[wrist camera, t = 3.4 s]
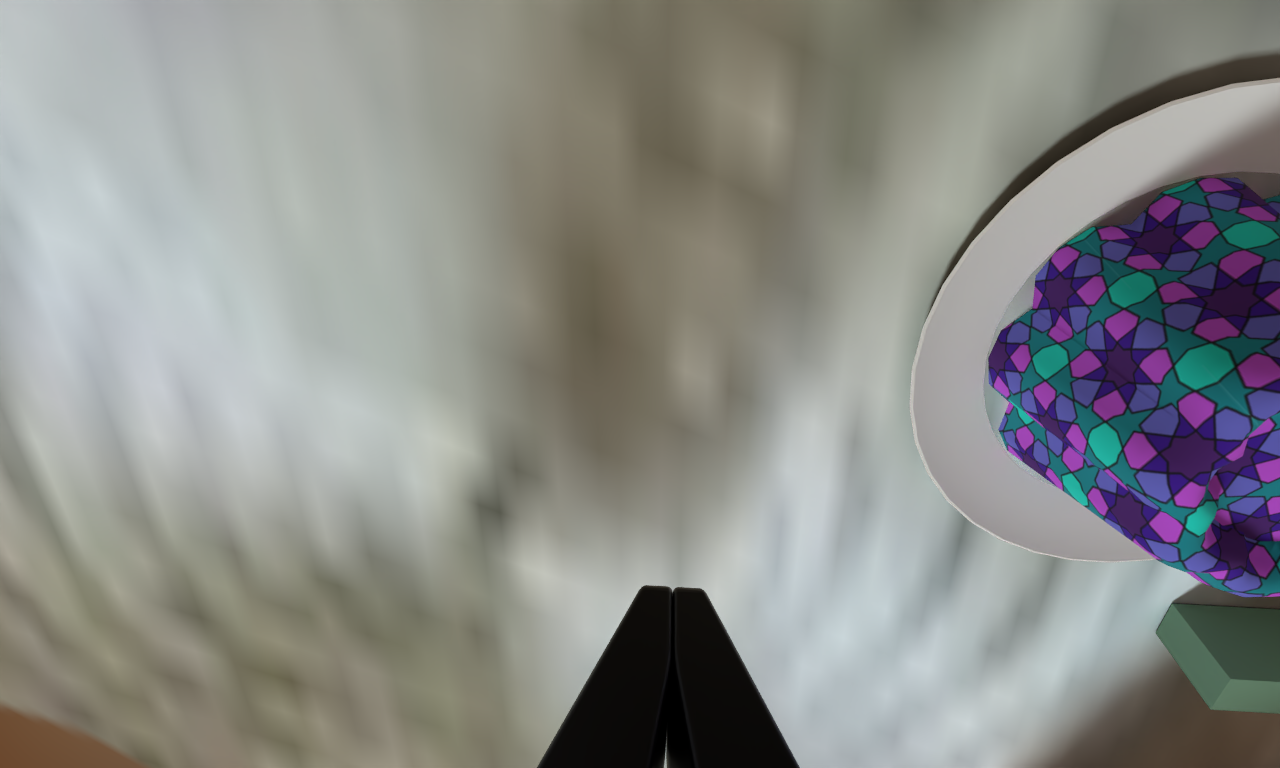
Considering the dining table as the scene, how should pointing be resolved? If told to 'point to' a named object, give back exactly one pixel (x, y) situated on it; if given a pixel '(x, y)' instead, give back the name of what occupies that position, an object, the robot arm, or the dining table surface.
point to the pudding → (1124, 353)
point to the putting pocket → (1227, 654)
